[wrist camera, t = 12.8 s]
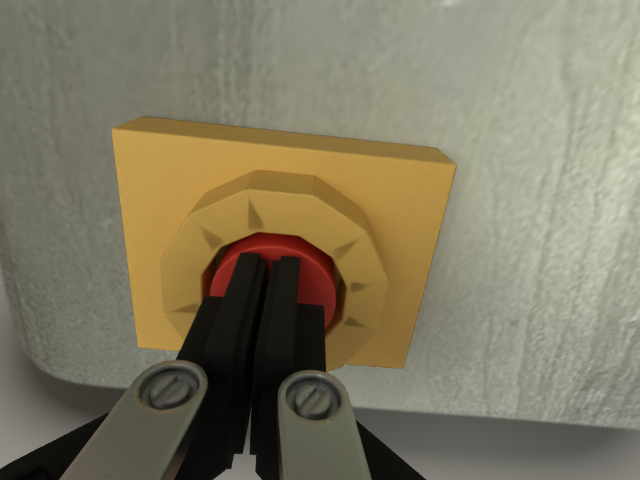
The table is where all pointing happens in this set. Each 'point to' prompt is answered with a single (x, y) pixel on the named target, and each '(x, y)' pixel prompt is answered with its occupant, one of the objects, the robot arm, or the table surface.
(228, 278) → the button
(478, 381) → the table surface
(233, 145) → the button box
